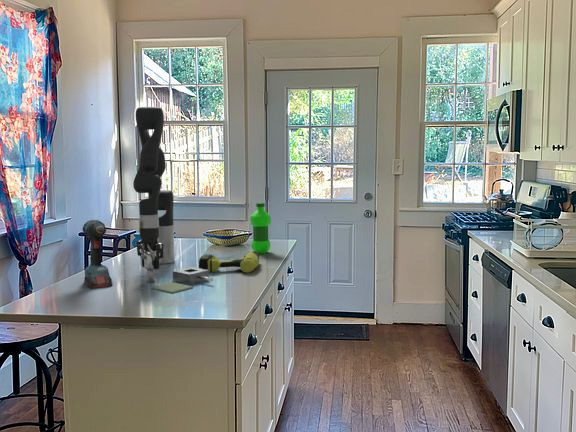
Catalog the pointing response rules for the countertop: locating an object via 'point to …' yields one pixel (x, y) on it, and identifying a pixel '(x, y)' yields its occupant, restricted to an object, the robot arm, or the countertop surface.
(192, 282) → the block
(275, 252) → the countertop surface
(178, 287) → the mat
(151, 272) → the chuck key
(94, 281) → the power drill
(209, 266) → the cordless drill
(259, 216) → the plastic bottle
